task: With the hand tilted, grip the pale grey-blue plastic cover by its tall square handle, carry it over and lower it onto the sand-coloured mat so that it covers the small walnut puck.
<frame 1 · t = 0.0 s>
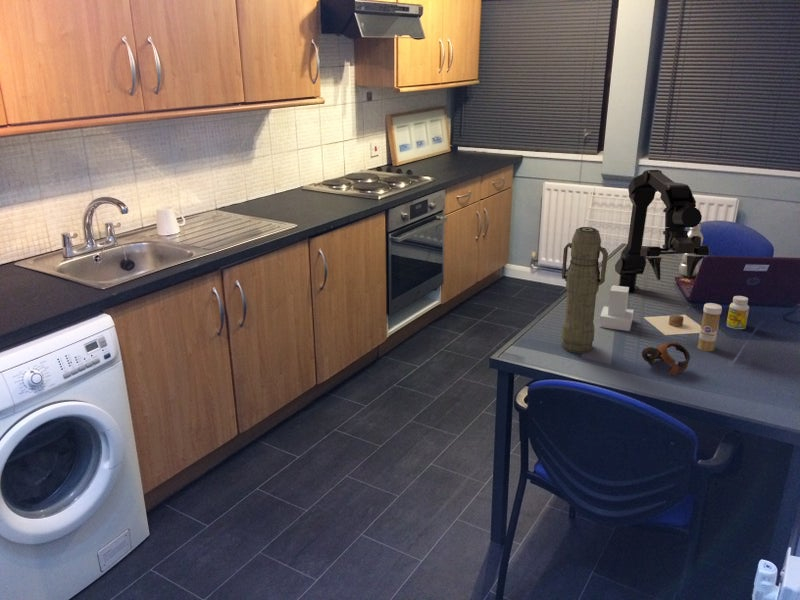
hand: (673, 279, 193), 15 cm above the table, tool pointing down, fingers open, 9 cm apart
plastic bottle: (687, 275, 244), on the table
mat: (675, 325, 200), on the table
puck: (675, 324, 199), resting on mat
sprinkles bottle: (705, 349, 184), on the table
cover: (615, 324, 201), on the table
supplement bottle: (735, 327, 198), on the table
thermos: (576, 347, 187), on the table
pottery mug: (662, 368, 174), on the table
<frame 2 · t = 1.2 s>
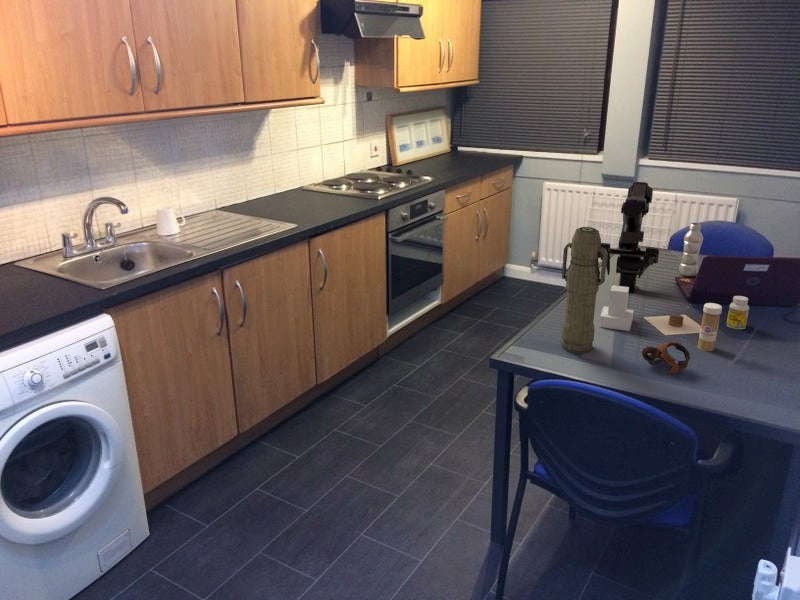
hand: (623, 276, 203), 13 cm above the table, tool tilted 45°, fingers open, 9 cm apart
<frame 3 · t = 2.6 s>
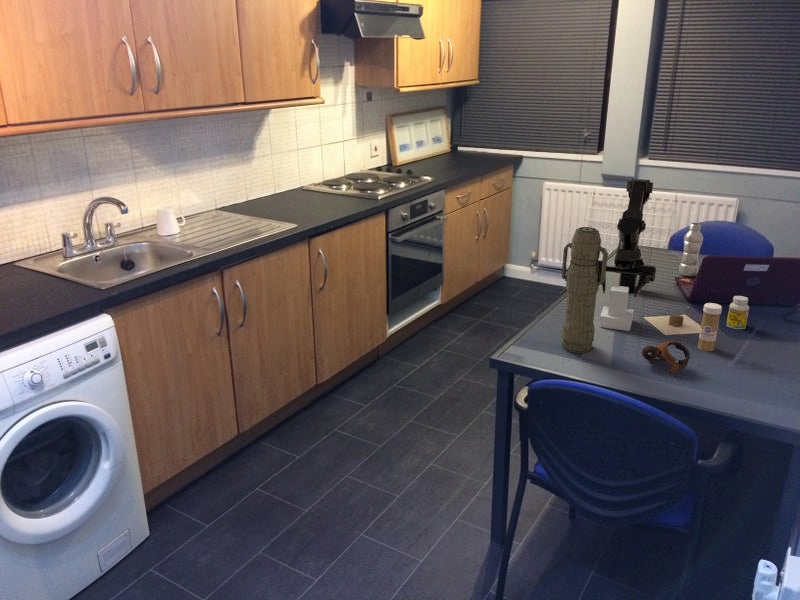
hand: (619, 294, 198), 10 cm above the table, tool tilted 45°, fingers open, 9 cm apart
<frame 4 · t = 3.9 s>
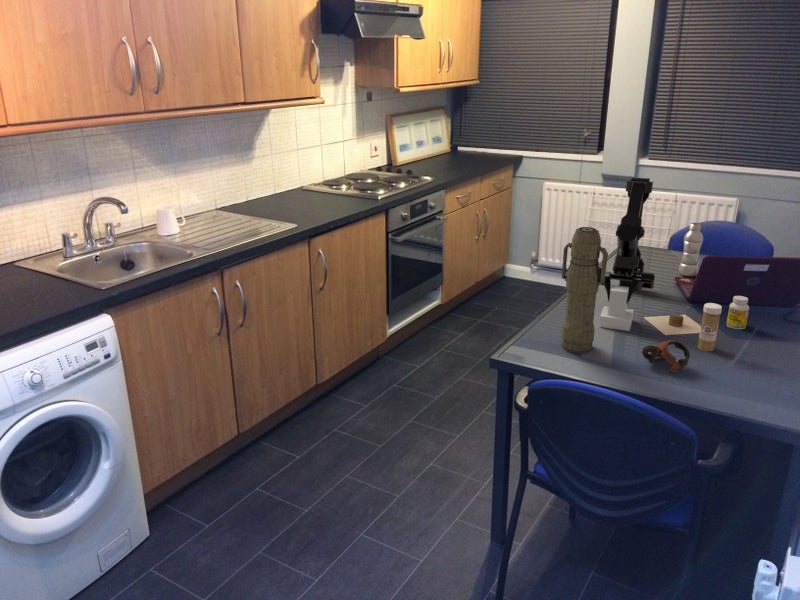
hand: (617, 302, 197), 8 cm above the table, tool tilted 45°, fingers closed on cover, 5 cm apart
cover: (615, 324, 201), on the table, touching gripper
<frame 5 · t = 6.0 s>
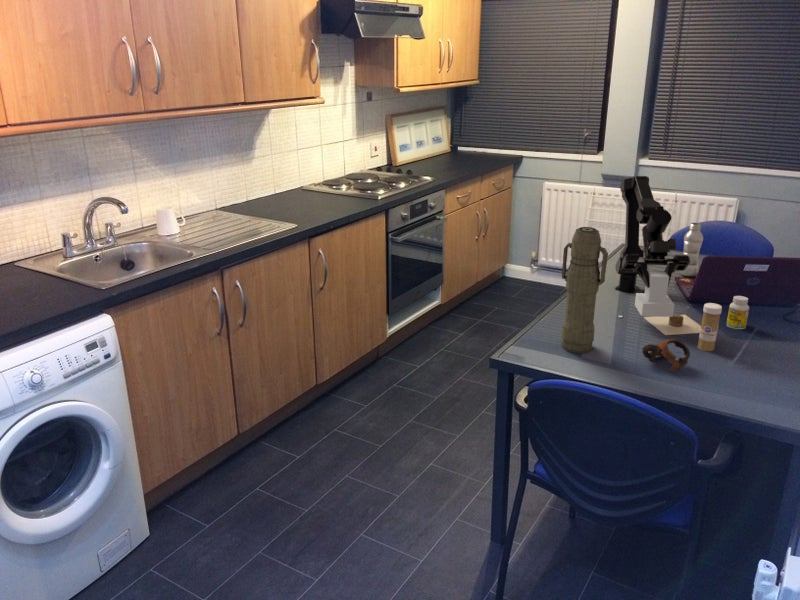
hand: (657, 287, 193), 13 cm above the table, tool tilted 45°, fingers closed on cover, 5 cm apart
cover: (653, 310, 197), point 5 cm above the table, touching gripper
when the fingers open (9 cm above the table, at t = 8.1 s): cover stays where it is, resting on mat.
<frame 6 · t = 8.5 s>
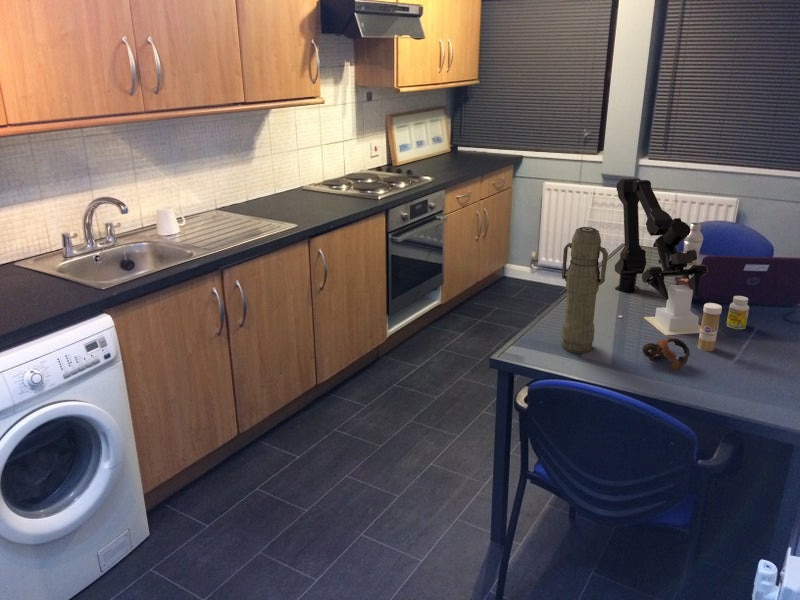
hand: (681, 298, 195), 10 cm above the table, tool tilted 45°, fingers open, 9 cm apart
cover: (675, 324, 199), resting on mat
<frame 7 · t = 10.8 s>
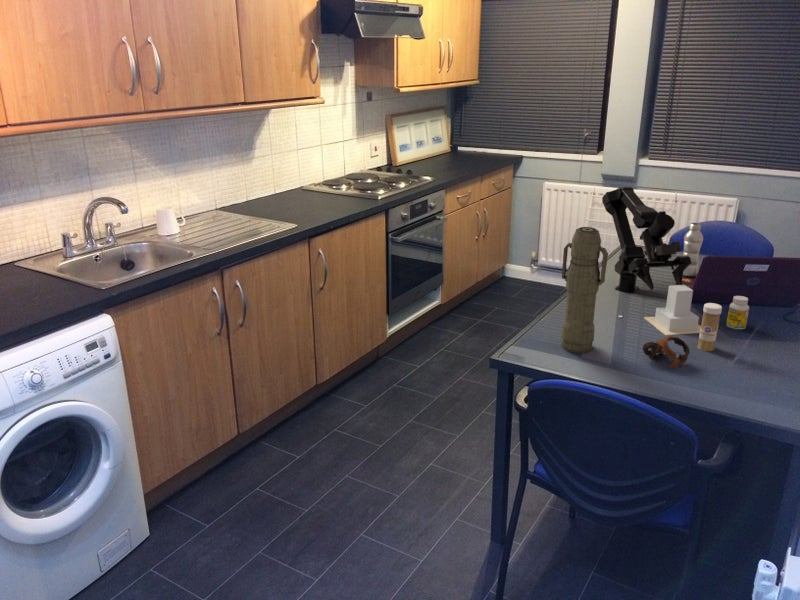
hand: (666, 288, 204), 9 cm above the table, tool tilted 45°, fingers open, 9 cm apart
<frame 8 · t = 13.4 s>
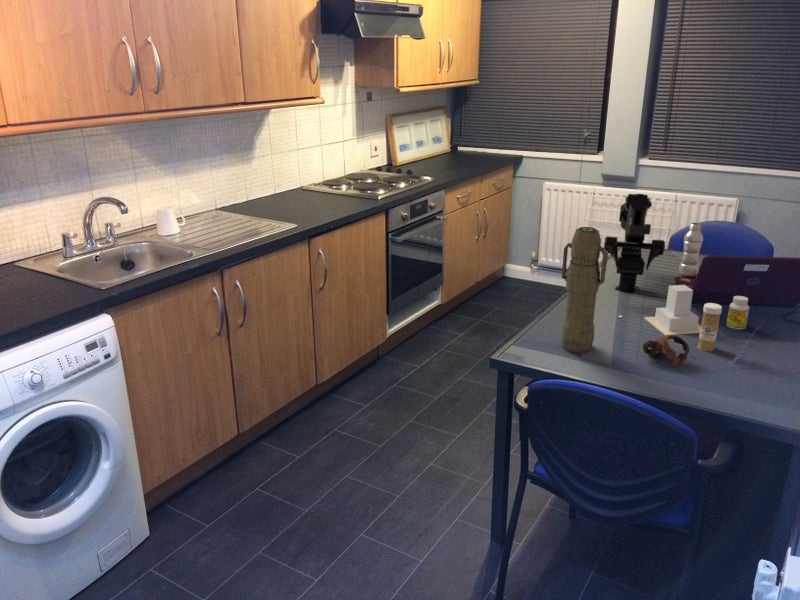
hand: (631, 268, 210), 14 cm above the table, tool tilted 45°, fingers open, 9 cm apart
at the end: cover 0.0 cm from the puck (horizontally); cover inside the target area on the mat (0.0 cm from its centre), point 0.5 cm above the mat's base; cover tilted 0° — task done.
